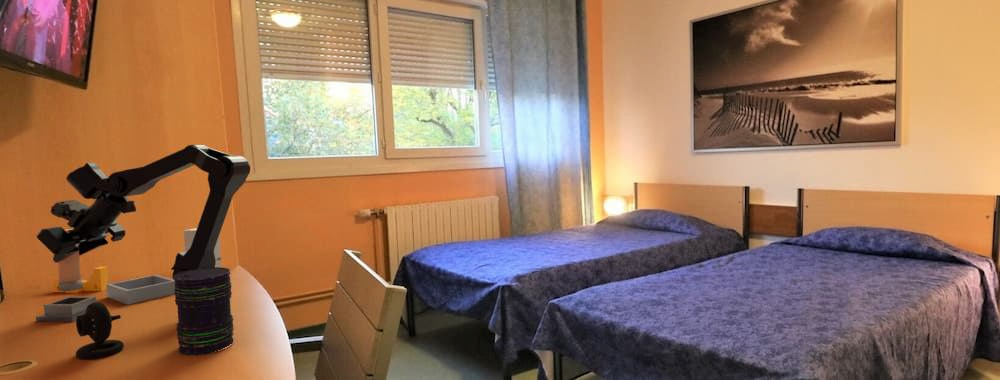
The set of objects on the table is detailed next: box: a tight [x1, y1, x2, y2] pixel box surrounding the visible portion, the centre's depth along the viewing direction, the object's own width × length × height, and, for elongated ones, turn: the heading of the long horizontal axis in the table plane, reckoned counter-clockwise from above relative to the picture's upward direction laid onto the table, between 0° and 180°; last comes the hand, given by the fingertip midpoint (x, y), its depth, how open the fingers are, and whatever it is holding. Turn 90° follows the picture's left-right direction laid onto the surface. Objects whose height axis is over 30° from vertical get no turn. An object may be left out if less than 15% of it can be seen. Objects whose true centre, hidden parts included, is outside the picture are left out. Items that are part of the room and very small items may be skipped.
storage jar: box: [173, 266, 235, 357], centre depth 105 cm, size 10×10×15 cm
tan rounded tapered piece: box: [57, 228, 83, 291], centre depth 125 cm, size 4×4×14 cm
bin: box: [106, 274, 175, 305], centre depth 142 cm, size 12×12×4 cm
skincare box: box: [183, 227, 222, 268], centre depth 162 cm, size 8×6×15 cm
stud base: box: [35, 296, 97, 323], centre depth 126 cm, size 9×9×4 cm
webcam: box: [75, 301, 125, 360], centre depth 103 cm, size 8×8×10 cm
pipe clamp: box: [53, 266, 110, 294], centre depth 147 cm, size 12×4×6 cm, turn 88°
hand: (63, 259), depth 125 cm, fingers closed on tan rounded tapered piece, 4 cm apart
